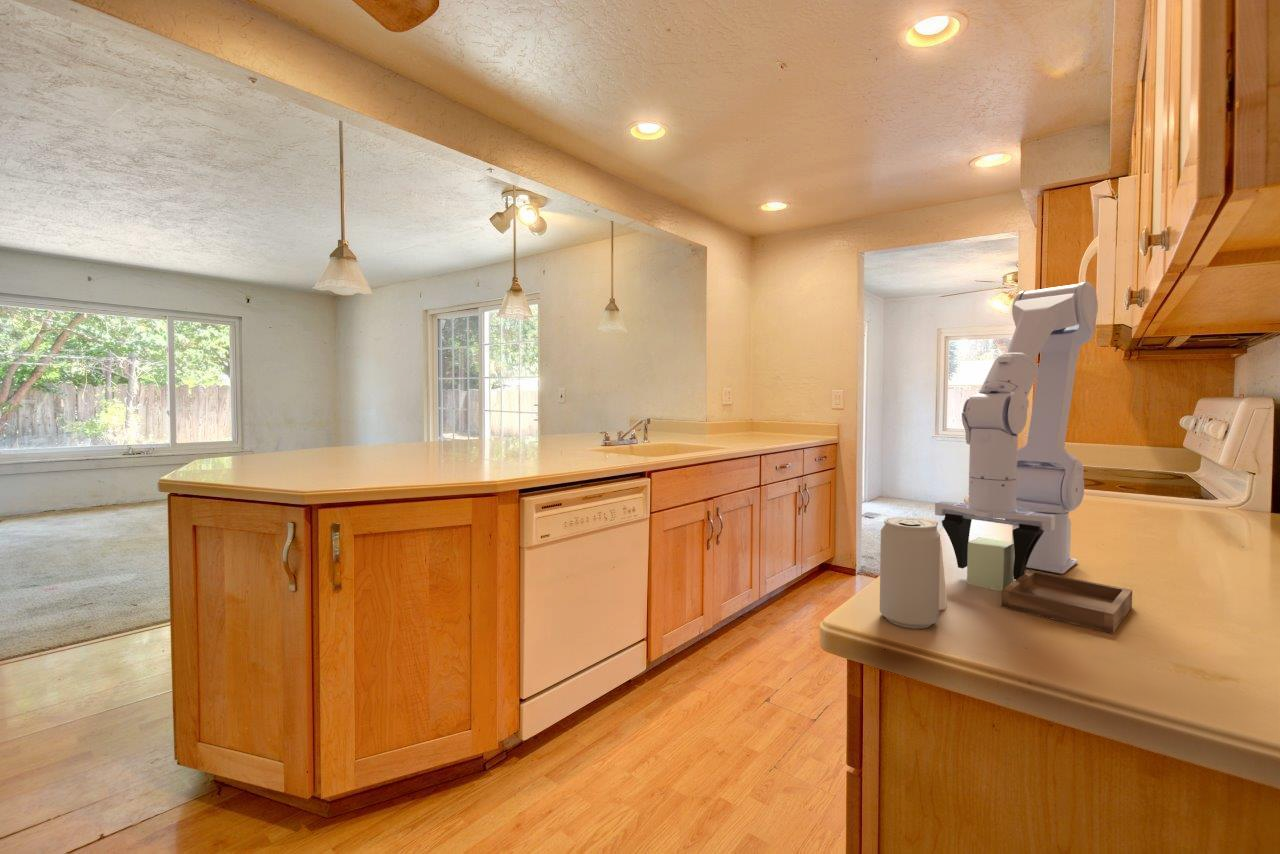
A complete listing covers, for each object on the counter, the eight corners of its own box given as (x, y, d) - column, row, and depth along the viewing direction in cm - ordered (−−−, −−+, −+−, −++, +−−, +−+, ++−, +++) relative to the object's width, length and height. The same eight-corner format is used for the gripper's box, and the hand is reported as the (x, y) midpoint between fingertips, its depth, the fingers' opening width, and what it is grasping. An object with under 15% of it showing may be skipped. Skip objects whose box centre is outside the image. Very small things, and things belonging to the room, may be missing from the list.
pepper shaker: (896, 595, 76) (897, 514, 75) (939, 597, 75) (941, 515, 74) (907, 610, 71) (909, 523, 70) (954, 612, 70) (956, 525, 69)
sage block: (978, 576, 84) (979, 537, 83) (1013, 584, 80) (1014, 542, 80) (966, 583, 81) (967, 542, 80) (1002, 591, 77) (1003, 548, 77)
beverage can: (877, 625, 66) (878, 524, 65) (881, 607, 72) (883, 513, 71) (938, 635, 63) (940, 529, 62) (938, 615, 69) (940, 518, 68)
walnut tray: (1029, 585, 79) (1029, 570, 79) (1131, 606, 71) (1132, 589, 71) (1001, 606, 71) (1001, 589, 71) (1112, 633, 63) (1113, 614, 63)
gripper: (927, 475, 82) (925, 566, 83) (1046, 486, 72) (1042, 591, 72) (946, 471, 87) (944, 557, 88) (1060, 480, 76) (1057, 579, 77)
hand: (989, 572), depth 80 cm, fingers open, 6 cm apart
